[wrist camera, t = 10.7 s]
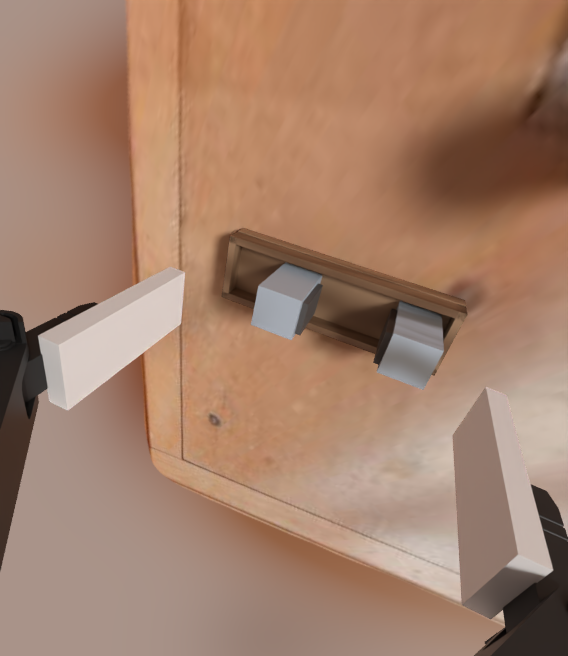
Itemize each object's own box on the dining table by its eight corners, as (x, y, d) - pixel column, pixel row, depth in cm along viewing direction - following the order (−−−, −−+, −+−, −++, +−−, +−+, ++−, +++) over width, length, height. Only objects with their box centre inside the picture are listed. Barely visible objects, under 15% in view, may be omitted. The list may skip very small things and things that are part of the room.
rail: (243, 227, 44) (202, 248, 36) (465, 300, 39) (473, 342, 31) (234, 287, 48) (195, 317, 40) (433, 360, 43) (434, 410, 35)
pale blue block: (285, 262, 42) (258, 285, 36) (327, 276, 41) (307, 303, 35) (278, 296, 45) (250, 324, 38) (317, 310, 44) (296, 342, 37)
